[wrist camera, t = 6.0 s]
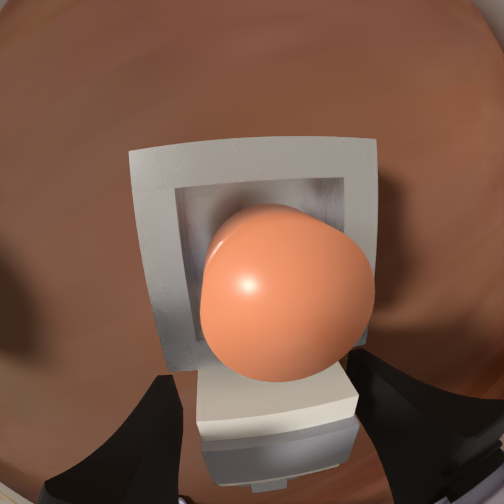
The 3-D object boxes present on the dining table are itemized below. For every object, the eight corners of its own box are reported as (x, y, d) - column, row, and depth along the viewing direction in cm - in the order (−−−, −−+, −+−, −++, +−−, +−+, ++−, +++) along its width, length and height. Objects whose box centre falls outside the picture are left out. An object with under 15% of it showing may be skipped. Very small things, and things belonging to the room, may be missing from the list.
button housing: (323, 296, 12) (365, 347, 8) (181, 312, 11) (169, 375, 8) (321, 147, 10) (376, 139, 6) (161, 158, 10) (128, 151, 6)
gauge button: (328, 315, 7) (364, 365, 5) (213, 330, 7) (213, 391, 5) (330, 199, 6) (380, 215, 4) (197, 209, 6) (187, 230, 4)
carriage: (306, 386, 13) (342, 472, 8) (213, 398, 13) (218, 494, 7) (309, 313, 12) (365, 403, 7) (199, 326, 12) (194, 432, 6)
